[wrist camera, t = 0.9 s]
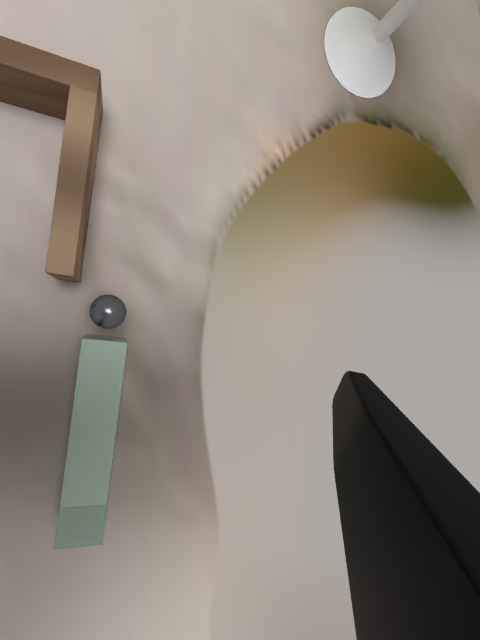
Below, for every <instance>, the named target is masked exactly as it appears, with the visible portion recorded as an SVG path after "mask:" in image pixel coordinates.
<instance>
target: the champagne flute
mask: <svg viewBox="0 0 480 640" xmlns="http://www.w3.org/2000/svg"><path fill="white" fill-rule="evenodd" d="M424 1H425V0H398V2H397V3H396V4H395V5H394V6H393V7H392V8H391V9H390V10H389V11H388V13H387V14H386V15H385V16H384V17H383V18H382V19H381V20H380V21H379V20H378V19H377V18H376V17H374V16H373V15H372V14H371V13H369V12H368V11H366V10H363V9H361V8H357V7H345V8H343V9H340V10H338V11H337V12H336V13H335V14H334V15H333V16H332V17H331V19H330V20H329V22H328V25H327V27H326V31H325V39H324V46H325V54H326V57H327V61H328V64H329V66H330V68H331V70H332V72H333V74H334V76H335V77H336V79H337V80H338V81H339V82H340V84H341V85H342V86H343V87H344V88H346V89H347V90H348V91H349V92H351V93H353V94H354V95H356V96H359V97H363V98H373V97H377V96H379V95H381V94H383V93H384V92H385V91H386V90H387V89H388V87H389V86H390V84H391V82H392V80H393V77H394V73H395V52H394V49H393V45H392V42H391V39H390V37H389V36H390V35H391V34H392V33H393V32H394V31H395V30H396V29H397V28H398V27H399V26H400V25H401V24H402V23H403V22H404V21H405V20H406V19H407V18H408V17H409V16H410V15H411V14H412V13H413V12H414V11H415V10H416V9H417V8H418V7H419V6H420V5H421V4H422V3H423V2H424Z"/></svg>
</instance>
